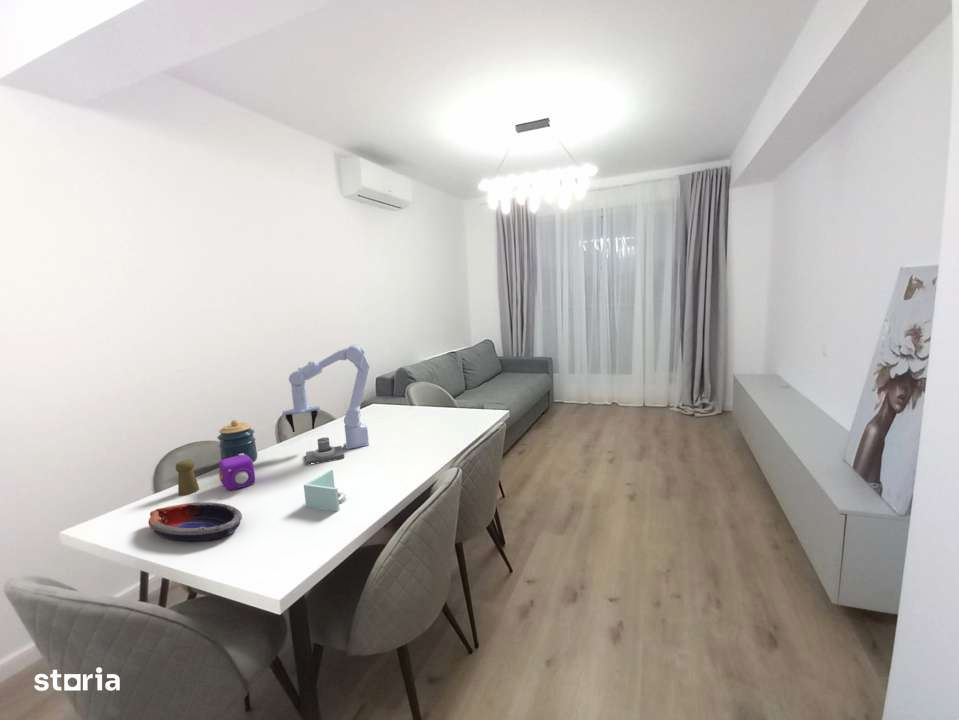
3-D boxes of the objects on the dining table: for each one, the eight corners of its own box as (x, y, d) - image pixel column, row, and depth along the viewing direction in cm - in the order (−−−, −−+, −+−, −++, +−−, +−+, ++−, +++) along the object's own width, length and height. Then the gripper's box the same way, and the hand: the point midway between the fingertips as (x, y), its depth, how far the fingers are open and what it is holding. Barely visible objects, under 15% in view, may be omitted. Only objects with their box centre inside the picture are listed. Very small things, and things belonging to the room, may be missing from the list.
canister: (242, 468, 161) (236, 425, 158) (213, 467, 163) (207, 424, 161) (264, 456, 174) (259, 415, 171) (238, 455, 176) (232, 415, 174)
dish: (209, 553, 105) (206, 535, 104) (130, 536, 115) (127, 519, 115) (259, 522, 120) (257, 506, 119) (185, 509, 130) (183, 494, 129)
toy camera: (232, 496, 137) (228, 468, 135) (215, 487, 145) (211, 460, 144) (265, 484, 145) (261, 457, 144) (247, 476, 154) (244, 450, 152)
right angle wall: (337, 513, 123) (335, 489, 122) (306, 507, 127) (303, 484, 126) (362, 495, 134) (360, 473, 133) (332, 490, 139) (330, 469, 137)
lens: (330, 450, 172) (328, 436, 171) (330, 453, 168) (329, 439, 167) (318, 452, 170) (317, 438, 169) (319, 456, 166) (317, 441, 165)
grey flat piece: (341, 449, 178) (340, 442, 177) (344, 458, 167) (343, 451, 166) (306, 455, 172) (305, 448, 172) (307, 465, 161) (306, 457, 161)
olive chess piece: (197, 486, 147) (192, 456, 145) (201, 490, 142) (196, 460, 141) (176, 492, 143) (171, 461, 141) (179, 497, 138) (174, 466, 137)
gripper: (280, 403, 168) (284, 435, 170) (318, 398, 173) (322, 429, 175) (281, 399, 174) (285, 430, 176) (318, 395, 180) (321, 425, 182)
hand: (303, 429), depth 176 cm, fingers open, 7 cm apart
